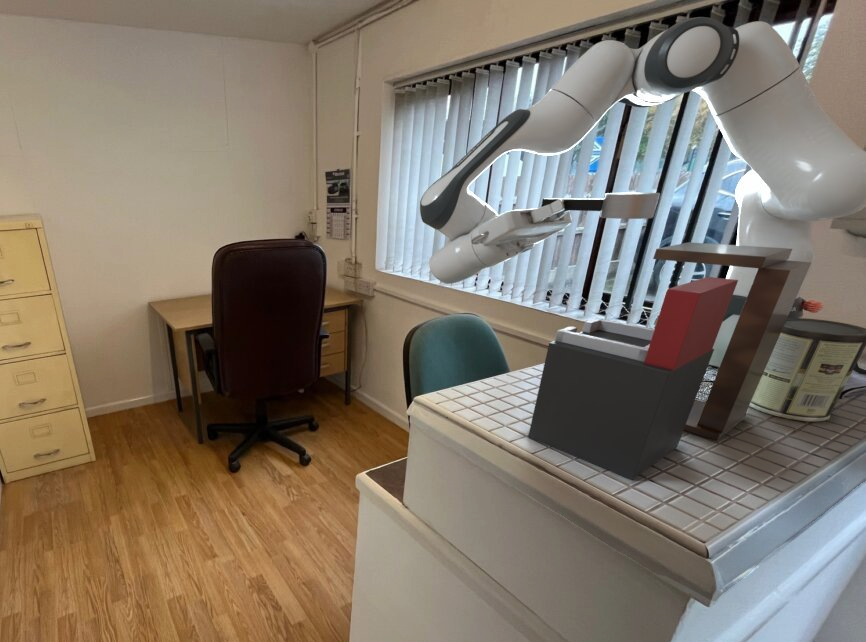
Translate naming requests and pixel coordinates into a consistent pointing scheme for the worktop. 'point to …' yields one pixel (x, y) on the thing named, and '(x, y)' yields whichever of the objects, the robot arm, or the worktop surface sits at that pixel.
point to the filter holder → (615, 205)
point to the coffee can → (809, 369)
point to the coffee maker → (630, 380)
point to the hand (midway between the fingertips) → (569, 203)
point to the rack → (743, 327)
